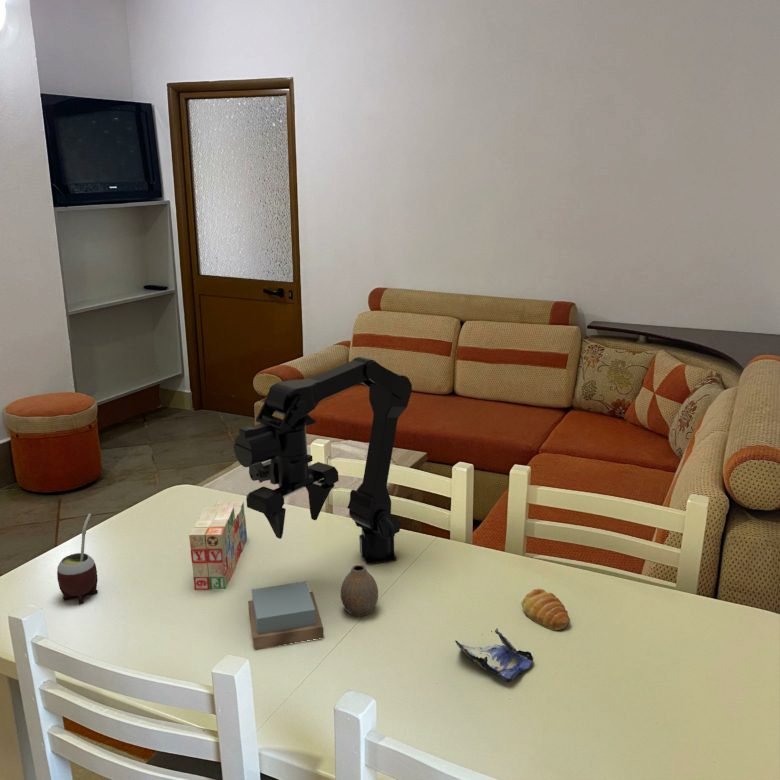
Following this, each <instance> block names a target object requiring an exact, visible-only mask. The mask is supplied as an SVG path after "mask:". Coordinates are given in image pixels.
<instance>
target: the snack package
mask: <svg viewBox="0 0 780 780" xmlns="http://www.w3.org/2000/svg"><path fill="white" fill-rule="evenodd" d="M491 633H493V631H492V630H491ZM494 634H497V635H498V637H499V639H500V641H501V643H502V645H501V644H496V643H495V644H491V645H487V646H484V647H481V646H478V647H477V646H469V645H465V644H461V642H459V641H458V640H455V641H454V642H455V643H456V645H457V646H458V648H459V649H460V650H461V651H462V652H464V653H465V655H466V656H468V657H469V658H470V660H472V661H473V662H474V663H475V664H478V666H479V667H480V668H482V669H484V670H486V671H488V672H490V673H493V674H495V675H498V676H499V677H500V678H502V680H504V681H505V682H506V683H507V684H509V683H510V682H512V681H513V679H515V677H516V676H517V675H521V674H523V672H527V671H528V670H529V669H530V667H531V666H532V664H533V661H534V656H533V655H532V653H531V652H530V651H524V650H519V649H518V650H517V649H516V648H515V646H514V645H512V643H511V642H510V641H509V640H508V639H507V637H505V636H504V635H503V634H502V633H501V632H499V629H498V628H496V629H495V630H494ZM481 635H482V636H484V635H483V634H481ZM471 650H476V651H479V652H480V653H479V654H481V655H482V654H484V655H486V656H485V657H484V658H483V657H478V655H477V654H475V653H473V652H472V651H471ZM487 656H488V657H489V658H490V659H491V660H492V661H495V662H499V666H494V665H491V664H489V663H488V661H489V660H488V657H487Z"/></svg>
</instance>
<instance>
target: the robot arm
mask: <svg viewBox="0 0 780 780" xmlns="http://www.w3.org/2000/svg"><path fill="white" fill-rule="evenodd" d="M359 384H363V385H364V386H366V387H367V388H369V389H368V392H369V394H368V400H369V403H370V406H371V410H372V412H373V415H372V416H373V417H372V422H371V423H372V424H371V428H370V429H371V430H370V436H369V442H368V448H367V455H366V461H365V467H364V472H363V477H362V478H363V480H362V483H361V484H360V485H359V486H358V488H357V489H351V490H350V493H349V502H348V504H347V507H346V508H347V509H348V513H349V514H348V515H349V517H350V518H351V519H352V521H353V522H354V523H355V526H356V527H358V528H361V534H359V537H358V541H359V554H360V556H361V558H362V559H363V560H364V562H365V564H366V565H372V564H381V563H386V562H394V561H395V562H396V561H397V559H398V558H397V555H396V554H395V536H396V535H397V534H398V533H399V532H400V531H401V527H402V526H401V525H402V521H400V520H399V519H398V518H397V517H396V516H394V515H393V514H391V513H392V500H391V496H390V493H389V490H388V487H387V486H388V479H389V474H390V467H391V462H392V461H391V460H392V456H393V449H394V444H395V439H396V433H397V427H398V426H397V424H398V420H399V418H400V417H401V415H402V414H403V413H404V411H405V410H407V407H408V405H409V402H410V399H411V396H412V395H411V394H412V389H413V385H412V384H413V383H412V382H411V380H410V378H409V377H408V376H407V375H403V374H398V373H395V372H394V371H392V370H390V369H388V368H386V367H384V366H383V365H381V364H380V363H379V362H377V361H376V360H374V359H372V358H366V357H363V356H357V357H354V358H353V359H352V360H351V361H348V362H345V363H343V364H341V365H339V366H336V367H334V368H331V369H329V370H326V371H324V372H321V373H319V374H316V375H314V376H311V377H308V378H305V379H290V380H285V381H278V382H276V383H274V384H272V385H271V386H270V387H269V391H268V392H267V396H266V399H265V400H264V403H262V406H261V409H260V411H259V413H258V414H257V417H256V418H255V422H256V423H258V424H254V425H251V426H244V427H241V428H239V429H238V432H239V435H237V436H236V437H235V441H234V444H233V451H234V455H235V457H236V460H237V462H238V463H239V464H240V466H242V467H244V468H248V474H249V477H250V480H251V481H253V482H254V481H258V483H259V484H260V483H263V482H266V481H270V484H272V485H274V486H275V485H278V487H277V488H275V489H272V488H269V487H266V486H262V487H260V488H257V489H255V490H252V491H249V492H248V494H247V495H246V498H245V501H246V508H249V510H250V509H251V510H253V511H255V512H259V513H262V514H263V515H264V517H265V518H266V519H267V521H268V523H269V525H270V527H271V530H272V532H273V533H274V536H275V538H277V539H279V540H281V539H282V538H283V534H284V527H285V521H286V519H285V518H286V510H287V509H286V508H284V505H285V497H287V496H290V495H292V494H294V493H296V492H298V491H300V490H302V489H304V488H305V489H306V490H307V493H308V503H309V505H308V506H309V512H310V513H309V514H310V518H311V520H313V521H316V520H317V519H318V518H319V516H320V514H321V511H322V509H323V506H324V504H325V502H326V500H327V498H328V497H329V494H330V493H331V490H332V489H333V488H334V487H335V483H338V482H339V481H340V480H339V471H338V469H337V468H336V467H335V466H333V465H329V464H326V463H323V462H320V461H317V462H315V463H312V461H313V455H311V454H308V442H307V439H308V438H307V428H306V427H308V426H311V425H315V424H316V422H317V421H316V419H314V418H313V417H311V416H310V415H309V414H310V413H312V412H313V411H315V409H316V408H317V406H318V404H319V403H321V402H322V401H324V400H326V399H328V398H331V397H333V396H335V395H337V394H340V393H341V392H344V391H346V390H349V389H351V388H353V387H355V386H358V385H359ZM274 414H276V415H278V416H282V417H283V419H282V418H280V417H277V416H274ZM309 463H312V464H311V465H310V464H309Z"/></svg>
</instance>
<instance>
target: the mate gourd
mask: <svg viewBox="0 0 780 780" xmlns="http://www.w3.org/2000/svg"><path fill="white" fill-rule="evenodd" d="M91 515H92V514H91V513H88V514H87V517H86V519H85V521H84V523H83V527H82V529H81V544H80V546H81V547H80V552H77V553H72V554H69V555H66V556H65V557H63V558H62V559H61V560H60V561H59V563H58V565H57V567H56V569H57V572H56V575H57V576H56V577H57V582H58V587H59V590H60V592H61V594H62V596H63V597H62V600H63V601H64V602H67V601H71V600H76V599H78V605H80V606H81V605H84V603H85V602H84V598H85V597H89V596H93V595H97V594H98V593H99V592H98V591H99V590H98V589H97V586H98V581H99V580H98V570H97V565H96V562H95V560H94V558H92V556H91V555H89V554H87V553H85V546H86V545H85V542H86V535H87V525H88V523H89V521H90V518H91Z"/></svg>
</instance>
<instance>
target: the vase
mask: <svg viewBox="0 0 780 780" xmlns="http://www.w3.org/2000/svg"><path fill="white" fill-rule="evenodd" d="M340 600H341V603H342V605H343V607H344V609H345V610H346V611H347V612H348V613H349V614H351V615H353V616H356V617H362V616H366V615H368V614H370V612H372V611H373V610H374V609H375V607H376V606H377V603H378V600H379V588H378V584H377V581H376V579H375V578H374V576H373V575H372V574H371V572H370V571H368V570H367V568H366V566H365V565H364V564H355V565H353V566H352V567H351V569H350V572H349V573H347V575H345V578H344V579H343V581H342V583H341V587H340Z"/></svg>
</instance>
